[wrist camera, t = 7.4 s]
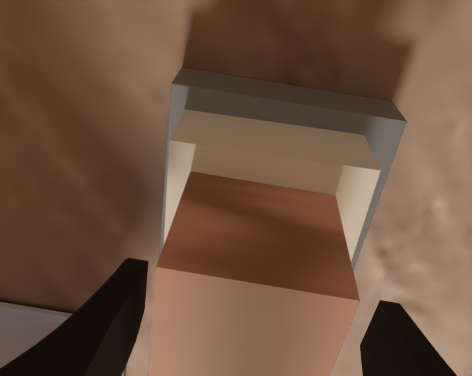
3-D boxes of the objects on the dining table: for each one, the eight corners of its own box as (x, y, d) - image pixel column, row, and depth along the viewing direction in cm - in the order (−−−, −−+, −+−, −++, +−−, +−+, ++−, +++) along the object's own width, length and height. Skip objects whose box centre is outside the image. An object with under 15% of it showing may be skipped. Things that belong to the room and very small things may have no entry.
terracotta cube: (178, 281, 18) (146, 395, 13) (190, 170, 15) (156, 267, 11) (302, 302, 18) (311, 422, 13) (335, 195, 15) (359, 300, 11)
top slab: (174, 251, 21) (160, 297, 18) (184, 109, 17) (169, 140, 15) (324, 273, 21) (331, 321, 18) (364, 134, 17) (380, 170, 15)
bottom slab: (170, 230, 24) (158, 267, 21) (184, 63, 19) (171, 83, 17) (336, 256, 24) (344, 296, 21) (388, 96, 19) (406, 121, 17)
